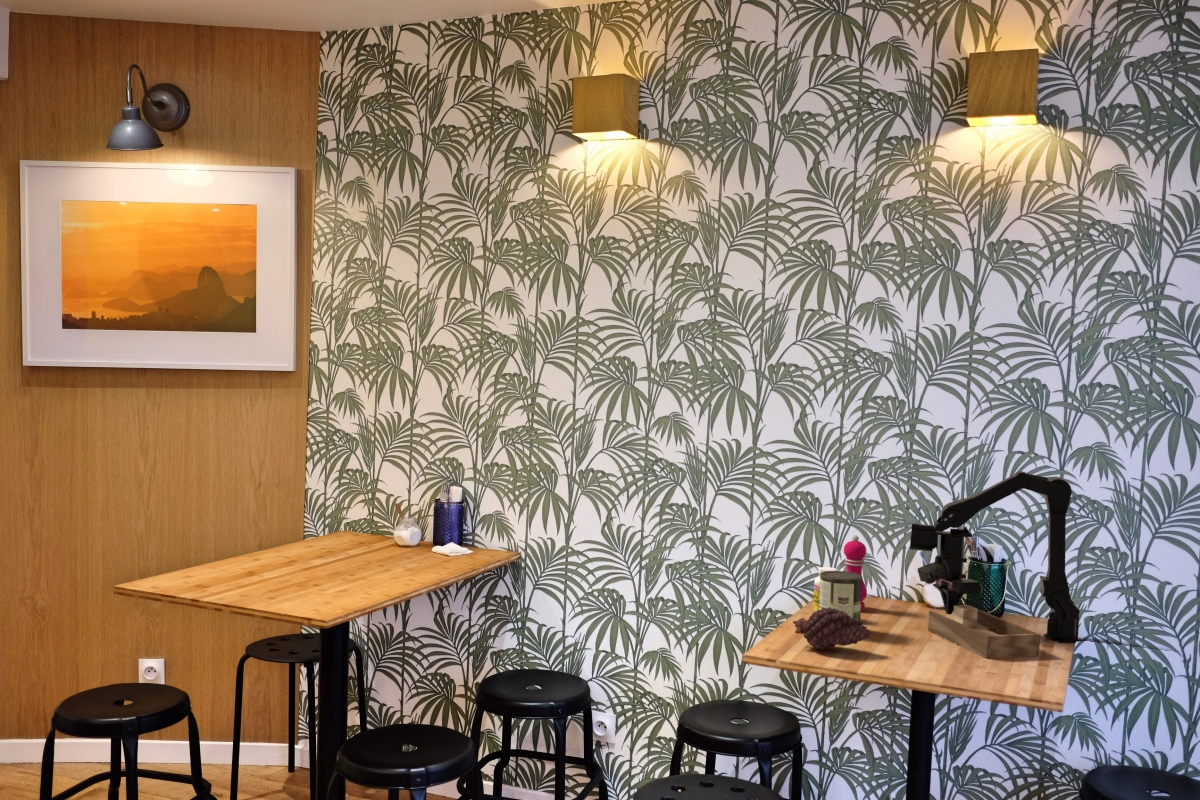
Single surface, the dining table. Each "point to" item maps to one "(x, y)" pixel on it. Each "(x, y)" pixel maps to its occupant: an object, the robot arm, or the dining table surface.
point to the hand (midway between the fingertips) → (948, 614)
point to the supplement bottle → (817, 588)
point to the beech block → (965, 615)
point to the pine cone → (831, 629)
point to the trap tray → (987, 636)
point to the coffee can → (841, 592)
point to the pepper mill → (856, 562)
